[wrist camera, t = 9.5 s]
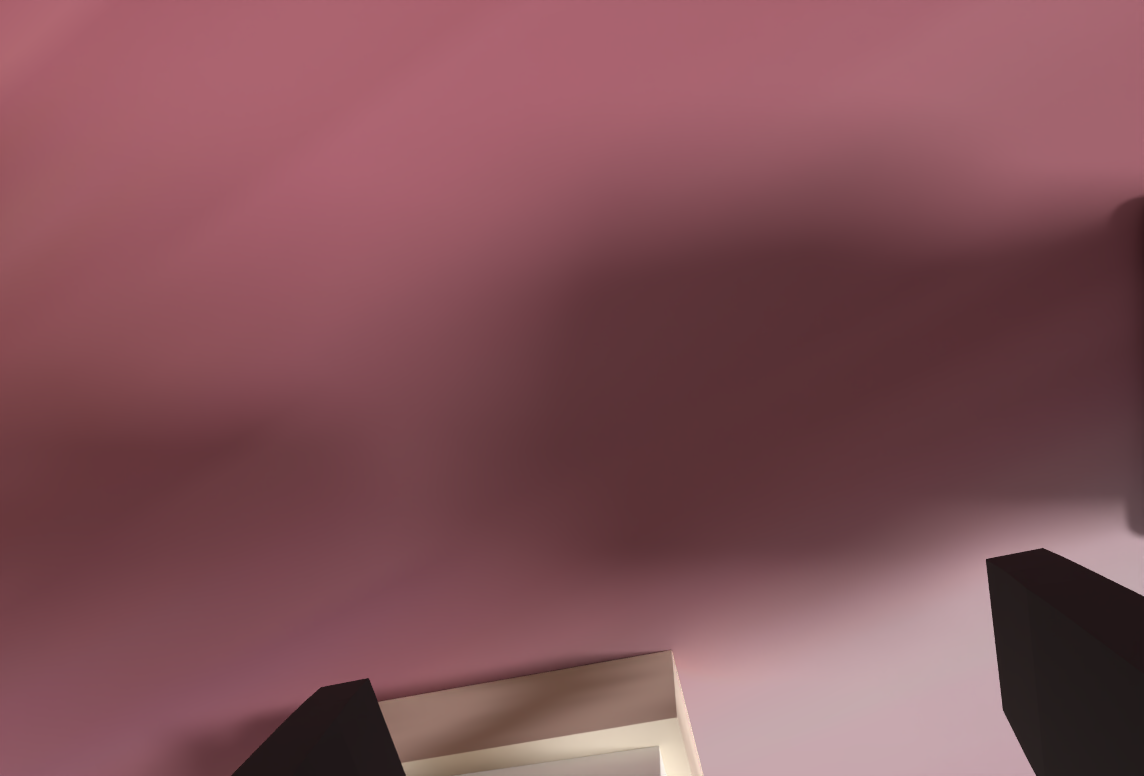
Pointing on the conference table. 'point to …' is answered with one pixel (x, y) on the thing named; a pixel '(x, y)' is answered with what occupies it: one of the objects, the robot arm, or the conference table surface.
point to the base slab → (547, 719)
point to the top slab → (592, 765)
